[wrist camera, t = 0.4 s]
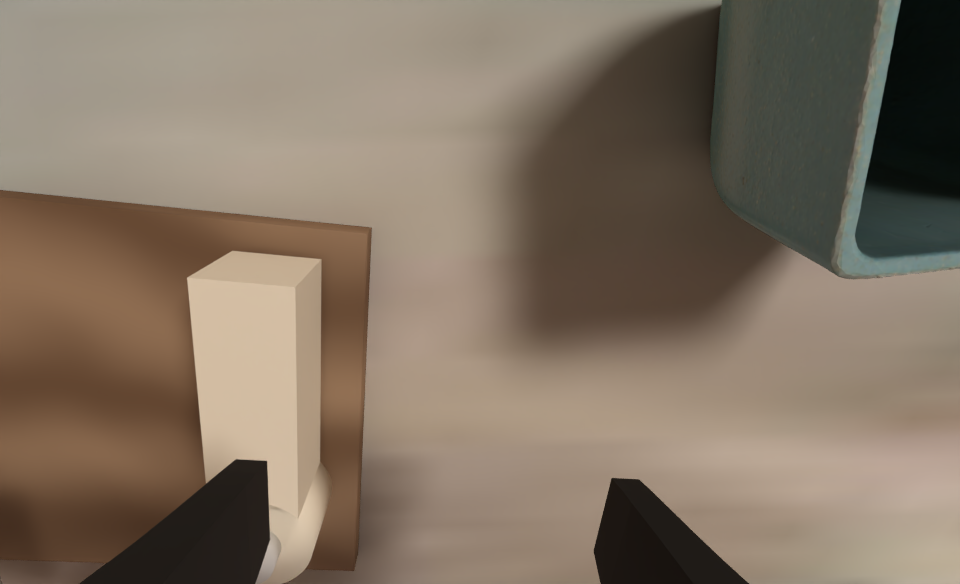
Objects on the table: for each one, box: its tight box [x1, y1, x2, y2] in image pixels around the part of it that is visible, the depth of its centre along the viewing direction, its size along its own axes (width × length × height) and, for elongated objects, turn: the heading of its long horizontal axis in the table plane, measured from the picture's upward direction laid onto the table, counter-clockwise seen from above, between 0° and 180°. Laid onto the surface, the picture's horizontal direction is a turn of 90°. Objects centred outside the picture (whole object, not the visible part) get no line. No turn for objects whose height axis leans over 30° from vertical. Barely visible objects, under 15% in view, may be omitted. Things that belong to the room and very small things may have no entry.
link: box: [187, 251, 332, 584], centre depth 17 cm, size 12×4×4 cm, turn 173°
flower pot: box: [710, 0, 960, 279], centre depth 13 cm, size 9×9×9 cm
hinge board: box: [0, 190, 372, 584], centre depth 17 cm, size 16×18×6 cm
